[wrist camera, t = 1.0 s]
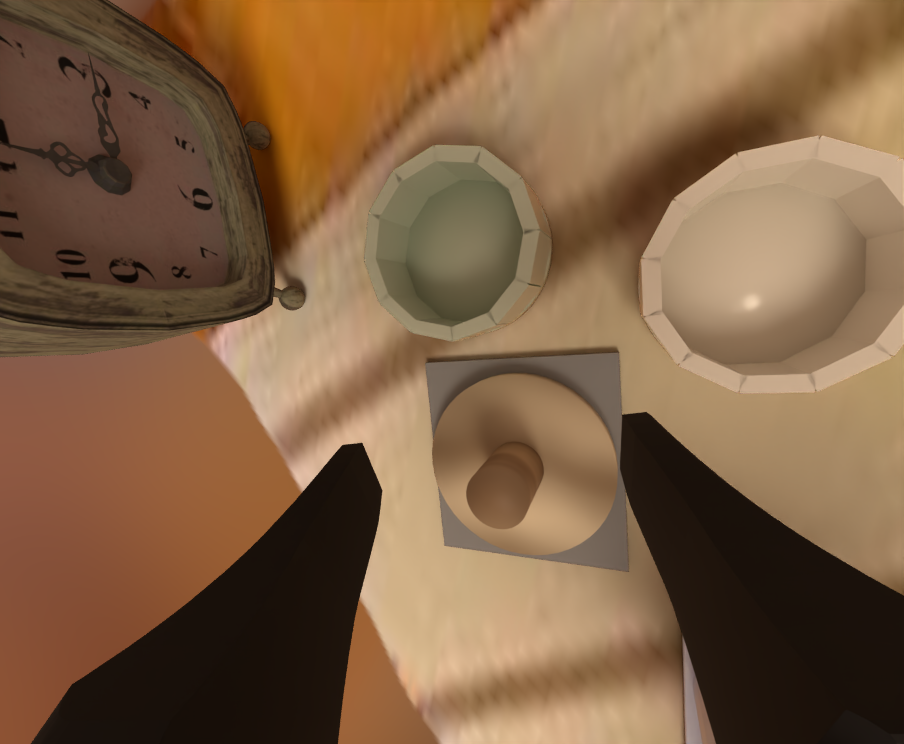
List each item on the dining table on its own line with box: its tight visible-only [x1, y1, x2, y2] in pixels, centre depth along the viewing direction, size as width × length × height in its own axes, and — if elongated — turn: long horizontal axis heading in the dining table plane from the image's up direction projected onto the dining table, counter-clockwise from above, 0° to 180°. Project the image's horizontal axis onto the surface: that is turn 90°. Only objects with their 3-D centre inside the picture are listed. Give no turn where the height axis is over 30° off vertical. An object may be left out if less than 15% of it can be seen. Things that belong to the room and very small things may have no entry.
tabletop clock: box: [0, 0, 305, 357], centre depth 18 cm, size 14×9×25 cm, turn 11°
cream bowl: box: [638, 135, 904, 394], centre depth 17 cm, size 9×9×4 cm
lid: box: [432, 373, 618, 555], centre depth 21 cm, size 10×10×5 cm
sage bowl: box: [364, 145, 552, 341], centre depth 21 cm, size 9×9×4 cm
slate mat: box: [425, 352, 629, 572], centre depth 24 cm, size 12×11×1 cm
